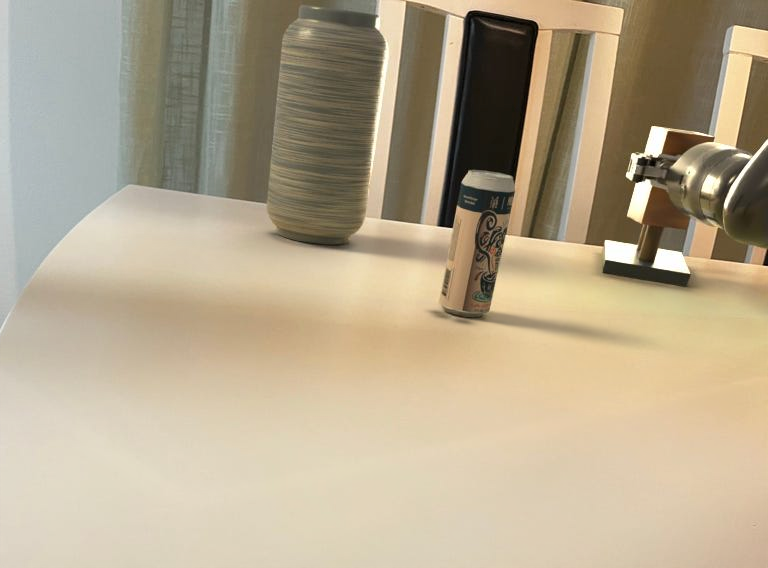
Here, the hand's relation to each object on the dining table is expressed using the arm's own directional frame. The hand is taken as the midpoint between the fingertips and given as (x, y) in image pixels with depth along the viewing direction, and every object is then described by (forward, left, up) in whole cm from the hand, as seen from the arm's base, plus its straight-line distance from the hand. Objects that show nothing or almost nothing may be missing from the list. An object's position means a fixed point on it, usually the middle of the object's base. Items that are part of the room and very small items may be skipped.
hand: (664, 166), depth 120 cm
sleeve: (-1, +2, -6) cm, 6 cm away
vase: (+38, +16, -12) cm, 43 cm away
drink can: (+17, +41, -12) cm, 46 cm away
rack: (-1, -1, -12) cm, 12 cm away
